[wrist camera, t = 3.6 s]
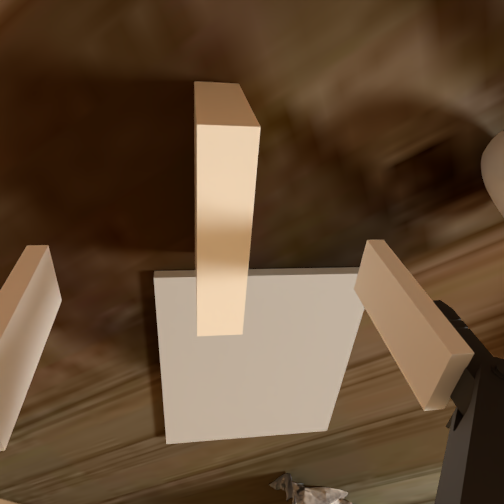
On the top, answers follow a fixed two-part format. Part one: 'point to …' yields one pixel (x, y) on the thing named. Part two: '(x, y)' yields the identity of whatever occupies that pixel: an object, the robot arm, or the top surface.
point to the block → (223, 204)
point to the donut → (494, 170)
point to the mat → (257, 354)
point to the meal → (308, 492)
